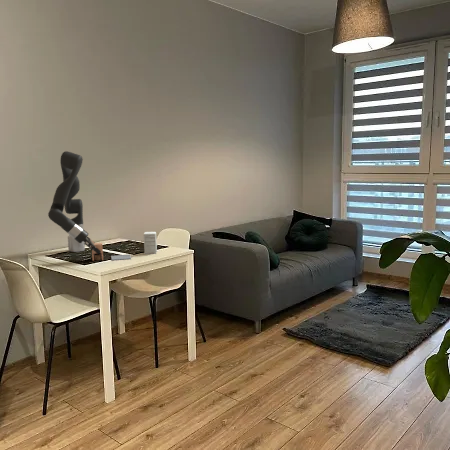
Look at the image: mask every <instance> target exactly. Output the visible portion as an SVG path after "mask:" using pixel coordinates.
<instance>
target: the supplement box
mask: <svg viewBox="0 0 450 450" xmlns="http://www.w3.org/2000/svg"><path fill="white" fill-rule="evenodd" d="M143 247H144V249H143V250H144V255H153V254H156V255H157V252H158V250H157V249H158V248H157V232H156V231H144V233H143Z"/></svg>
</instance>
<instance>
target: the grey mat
mask: <svg viewBox="0 0 450 450" xmlns="http://www.w3.org/2000/svg"><path fill="white" fill-rule="evenodd" d="M110 257H111V261H112V262H113V261H122V260H123V261H125V260H132V256H131V254H123V255H122V254H121V255H119V254H118V255H111V256H110Z"/></svg>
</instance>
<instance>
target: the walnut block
mask: <svg viewBox="0 0 450 450" xmlns="http://www.w3.org/2000/svg"><path fill="white" fill-rule="evenodd" d="M101 260H102V259H101V258H100V254H95V259H94V261H101Z"/></svg>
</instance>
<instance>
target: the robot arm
mask: <svg viewBox="0 0 450 450" xmlns="http://www.w3.org/2000/svg"><path fill="white" fill-rule="evenodd" d="M83 160H84V158H83V156H82V155H80V154H77V153H74V152H71V151H67V150H65V151H64V152H62V153H61V155H60V159H59V161H60V167H61V172H62V173H61V174H62V179H63V180H62V182H61V183H60V184H59V185H58V186H57V187H56V189H55V192H54V195H53V199H52V204H51V205H50V208H49V210H48V213H47V215H48V216H47V217H48V218H49V220H50V221H52V222H53V223H55V224H56V225H57V226H59V228H61V229H62V230H64V231H65V233H67V234H68V236H67V247H68V252H74V253H79V252H83V251H85V250H86V247H88V248H89V249H90V250H91V251H92V250H94V251H95V252H96V253H97V254H100V252H101V251H100V250H99V249H98V248H96V246H95V245H94V243H96V242H95V241H94V240H92V239H91V238H90V237H89V233H88V232H87V231H86V230H85V227H84V216H83V205H84V204H83V201H82V199H80V198H74V197H75V196H77V194H78V193H79V192H80V179H79V177H78V175H79V172H80V171H81V170H80V169H81V168H82V165H83ZM73 198H74V199H73ZM63 211H65V213H66V214H69V215H73V214H77V215H76V216H75V217H73V218H69V217H67V215H66V214H64V213H63Z"/></svg>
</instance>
